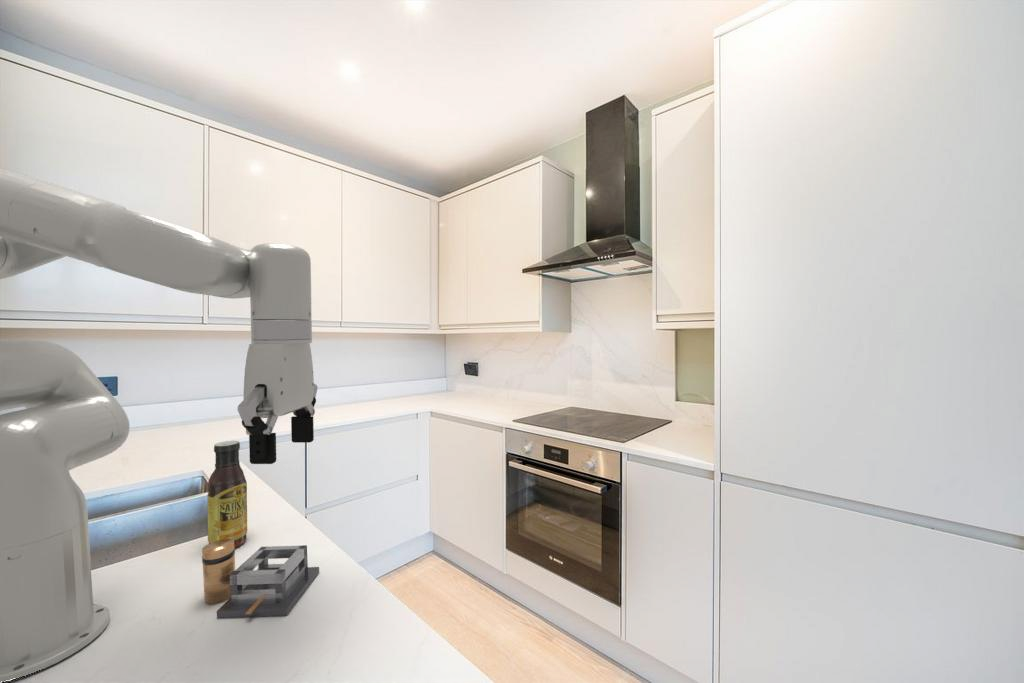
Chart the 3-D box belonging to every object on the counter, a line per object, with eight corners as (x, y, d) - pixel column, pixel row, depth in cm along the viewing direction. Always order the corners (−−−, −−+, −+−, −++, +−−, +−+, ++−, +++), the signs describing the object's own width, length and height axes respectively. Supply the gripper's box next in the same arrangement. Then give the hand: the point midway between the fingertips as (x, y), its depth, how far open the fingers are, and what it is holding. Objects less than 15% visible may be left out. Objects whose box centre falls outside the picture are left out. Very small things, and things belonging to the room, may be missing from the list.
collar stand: (212, 622, 56) (210, 584, 56) (259, 574, 67) (258, 542, 66) (283, 619, 56) (282, 582, 56) (319, 572, 67) (318, 541, 67)
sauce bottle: (222, 556, 72) (217, 450, 72) (200, 550, 74) (195, 447, 74) (256, 538, 78) (252, 440, 78) (235, 533, 81) (230, 437, 80)
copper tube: (197, 605, 59) (194, 553, 59) (216, 587, 64) (214, 538, 63) (224, 604, 60) (222, 552, 59) (242, 586, 64) (240, 538, 63)
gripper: (290, 332, 65) (292, 435, 65) (209, 334, 47) (213, 473, 48) (335, 332, 65) (337, 435, 65) (271, 334, 47) (274, 473, 48)
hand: (284, 451), depth 57 cm, fingers open, 9 cm apart
